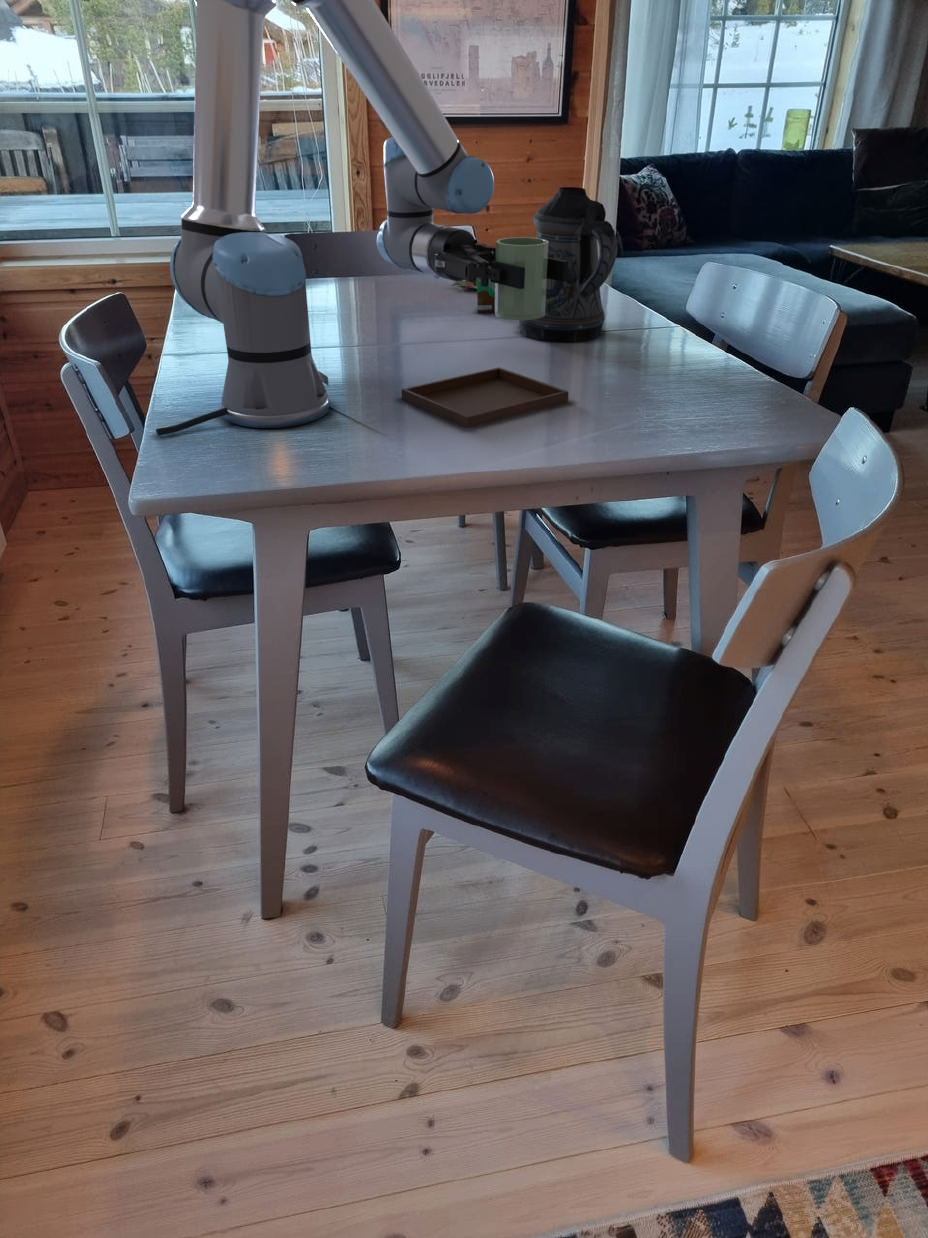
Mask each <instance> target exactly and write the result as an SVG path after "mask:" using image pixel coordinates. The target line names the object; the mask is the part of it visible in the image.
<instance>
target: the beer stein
mask: <svg viewBox="0 0 928 1238" xmlns="http://www.w3.org/2000/svg"><path fill="white" fill-rule="evenodd" d="M606 213H607V212H606V208H605V206H604V204H603V203H601V202H599V201H598V200H593V199H590V197H589V196H588V195H587V191H586V188H585V187H578V186H575V187H574V186H563V187H559V188H558V190H557V192H556V193H555V194H554V196H552V197H551V198H550V200H548V201H547V202H546V203H544V205H542V206H541V207H540V208H538V209H537V211H536V212H535V213H534V215H533V225H534V227H535V229H536V235H535V238H540V239H545V240H547V241H549V247H548V257H550V258H555V259H560V260H565V261H568V272H567V281H565V282H562V281H557V280H553V279H549V278H547V290H546V310H545V316H544V317H542V318H538V319H533V320H518V323H519V333H520V334H522V335H523V336H524V337H526V338H529V339H533V340H537V341H540V342H550V343H577V342H578V343H579V342H586V341H587V342H588V341H590V340H595V339H597V338H598V337H600V336H601V333H602V329H603V326H604V323H605V318H606V314H605V310H604V308H603V307H604V306H603V303H602V296H601V287H602V286H603V285H604V283H606V281H607V280H608V278H609V276H610V274H611V272H612V271H613V269H614V265H615V262H616V259H617V255H618V240H617V236H616V233H615V229H614V228H613V225H612V224H611V222H609V221H608V220H606V216H607V215H606ZM598 246H599V247H598ZM598 250H599V251H598Z"/></svg>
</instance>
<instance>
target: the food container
mask: <svg viewBox="0 0 928 1238" xmlns="http://www.w3.org/2000/svg"><path fill="white" fill-rule="evenodd" d="M476 290H477V294H476V295H477V296H476V297H477V298H476V299H477V301H476V302H477V314H482V315H483V314H495V283H494V282H490V279H489V286H487V287H482V286H480V280H479V279H477V289H476Z"/></svg>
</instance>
